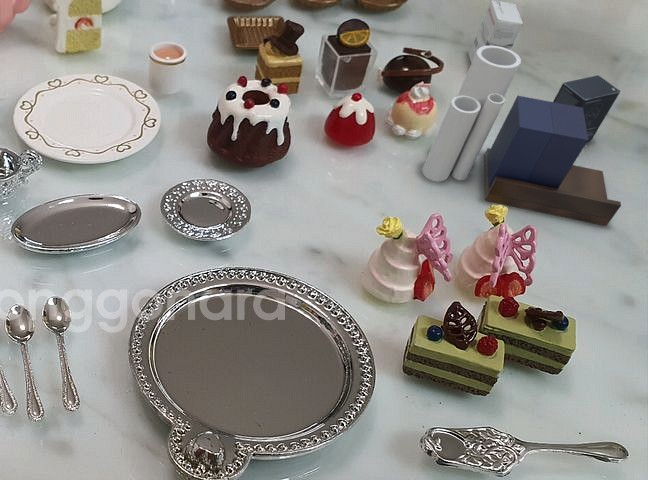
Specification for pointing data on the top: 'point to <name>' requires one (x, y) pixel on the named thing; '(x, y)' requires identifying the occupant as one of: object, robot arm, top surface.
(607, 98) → the box
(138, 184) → the top surface
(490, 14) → the ink box
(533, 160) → the matching cartons
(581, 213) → the shelf
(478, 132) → the vase
